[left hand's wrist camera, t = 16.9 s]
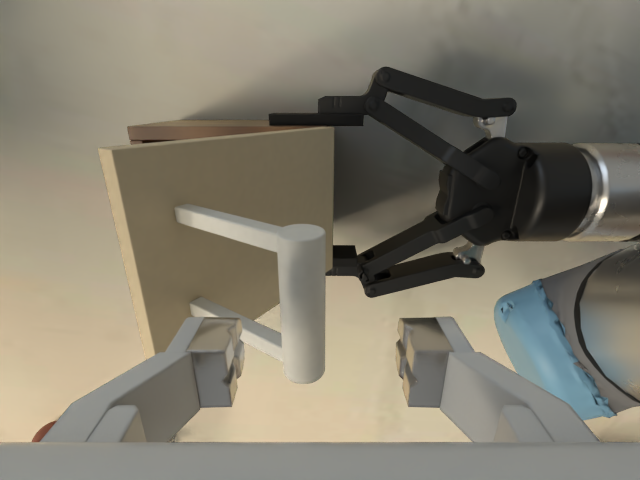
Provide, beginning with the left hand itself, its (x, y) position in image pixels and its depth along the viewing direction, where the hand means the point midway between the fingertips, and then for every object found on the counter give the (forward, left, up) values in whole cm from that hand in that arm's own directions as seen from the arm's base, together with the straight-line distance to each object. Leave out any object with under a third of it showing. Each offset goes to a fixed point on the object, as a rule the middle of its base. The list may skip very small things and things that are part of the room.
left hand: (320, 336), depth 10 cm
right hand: (-2, +3, -18) cm, 19 cm away
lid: (-2, +3, -10) cm, 11 cm away
